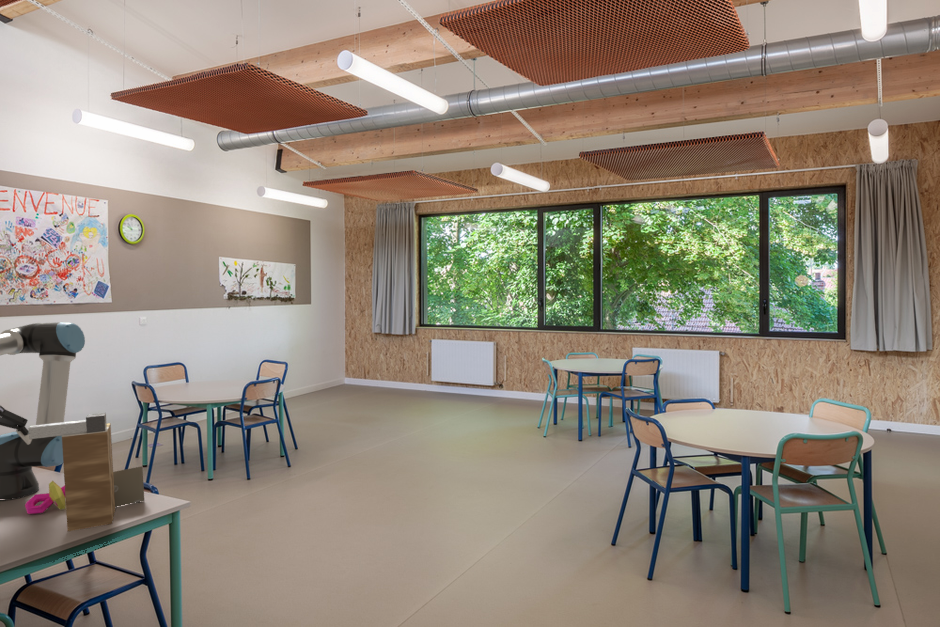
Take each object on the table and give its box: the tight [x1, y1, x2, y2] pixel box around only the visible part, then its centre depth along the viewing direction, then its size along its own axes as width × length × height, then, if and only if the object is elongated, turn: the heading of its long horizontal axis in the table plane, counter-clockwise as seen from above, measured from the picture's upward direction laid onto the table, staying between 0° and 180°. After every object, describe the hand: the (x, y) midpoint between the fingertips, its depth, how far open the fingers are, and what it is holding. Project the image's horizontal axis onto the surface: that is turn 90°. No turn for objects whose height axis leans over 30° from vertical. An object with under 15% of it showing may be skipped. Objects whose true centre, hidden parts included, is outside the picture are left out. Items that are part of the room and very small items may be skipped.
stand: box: [62, 422, 116, 532], centre depth 193 cm, size 13×12×30 cm
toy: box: [24, 480, 66, 515], centre depth 206 cm, size 10×18×10 cm
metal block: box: [27, 412, 108, 439], centre depth 187 cm, size 5×20×5 cm, turn 117°
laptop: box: [113, 465, 145, 507], centre depth 209 cm, size 18×12×13 cm
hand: (9, 449), depth 199 cm, fingers open, 13 cm apart
